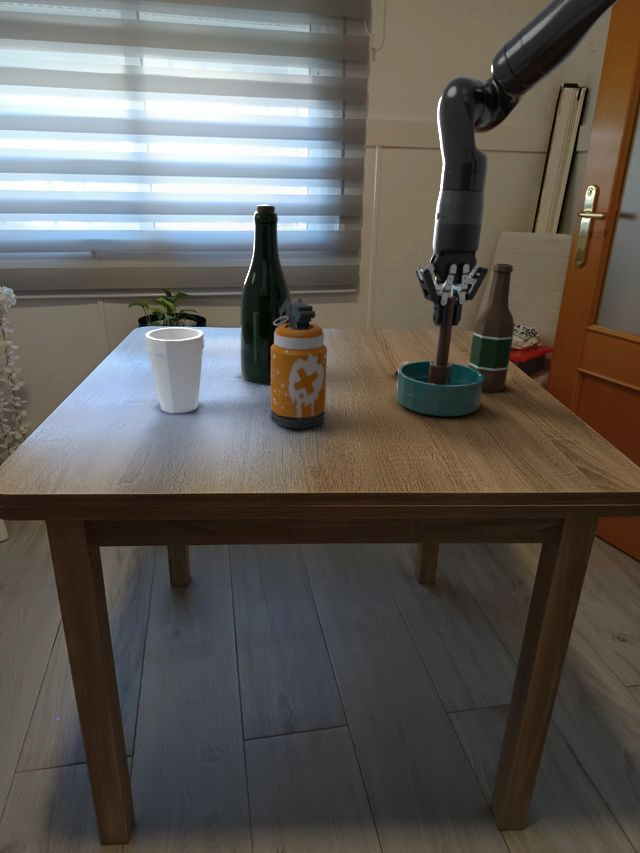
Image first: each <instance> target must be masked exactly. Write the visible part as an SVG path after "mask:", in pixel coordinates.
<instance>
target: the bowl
mask: <svg viewBox="0 0 640 853" xmlns="http://www.w3.org/2000/svg"><path fill="white" fill-rule="evenodd" d="M432 361H433V360H418V361H417V360H416V362H415V361H413V362H411V363H406V364H404V365H402V366H400V365H399V366H400V367H399V369H398V374H397V376H396V388H395V399H396V402H397V403H398V404H400V405H401V407H404V408H406V409H408V410H410V411H412V412H415V413H418V414H420V415H421V414H422V415H426V416H431V417H442V418H443V417H444V418H450V417H460V416H466V415H468V414H472V413H474V412H477V411H478V410H479V409H480V406H481V401H482V395H483V394H482V392H483V391H482V387H483V380H484V376H483V374H482V373H481V372H479V371H478V370H476V369H474V368H471V367H469V365H468V366H467V365H465V364H460V363H455V362H451V361H448V362H449V363H451V364H452V365H453V366H452V374H451V382H450V385H438V384H430V383H428V377H429V368H430V362H432Z"/></svg>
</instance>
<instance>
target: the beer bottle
mask: <svg viewBox="0 0 640 853" xmlns="http://www.w3.org/2000/svg"><path fill="white" fill-rule="evenodd" d="M513 271H514V267H513V265H512V264H508V263H496V264H495V265H494V266H493V268H492V272H493V274H492V280H491V284H490V289H489V295H488V300H487V303H486V304H485V305H486V306H485V308H484V309H483V310H482V311H481V313H480V314H479V315H478V317H477V319H476V321H475V323H474V328H473V332H472V333H473V334H472V340H471V348H470V356H469V363H468V367H471V368H474V369H476V370H478V371H479V372H481V373H482V374H483V376H484V380H483V387H482V392H486V393H492V392H493V393H494V392H501V391H503V389H504V387H505V386H506V381H507V376H508V371H509V364H510V358H511V351H512V345H513V339H514V332H515V331H514V330H515V322H514V316H513V314H512V312H511V311H510V308H509V306H510V305H509V299H510V298H509V297H510V288H511V287H510V286H511V278H512V277H511V275H512V273H513Z"/></svg>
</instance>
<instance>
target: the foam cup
mask: <svg viewBox="0 0 640 853" xmlns="http://www.w3.org/2000/svg"><path fill="white" fill-rule="evenodd" d="M144 337H145V348H146V350H147V352H148V356H149V361H150V365H151V369H152V374H153V379H154V382H155V384H154V385H155V388H156V392H157V396H158V400H159V405H160V409H161V410H162V411H163V412H166V413H169V414H185V413H190V412H193V411H195V410H196V409H198V406H199V398H200V388H201V387H200V386H201V376H202V363H203V362H202V361H203V353H204V352H203V351H204V348H205V338H204V332H203V331H202V330H200V329H196V328H192V327H191V328H190V327H163V328H162V327H161V328H157V329H153V330H149V331H147V332H146V333H145V334H144Z"/></svg>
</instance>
